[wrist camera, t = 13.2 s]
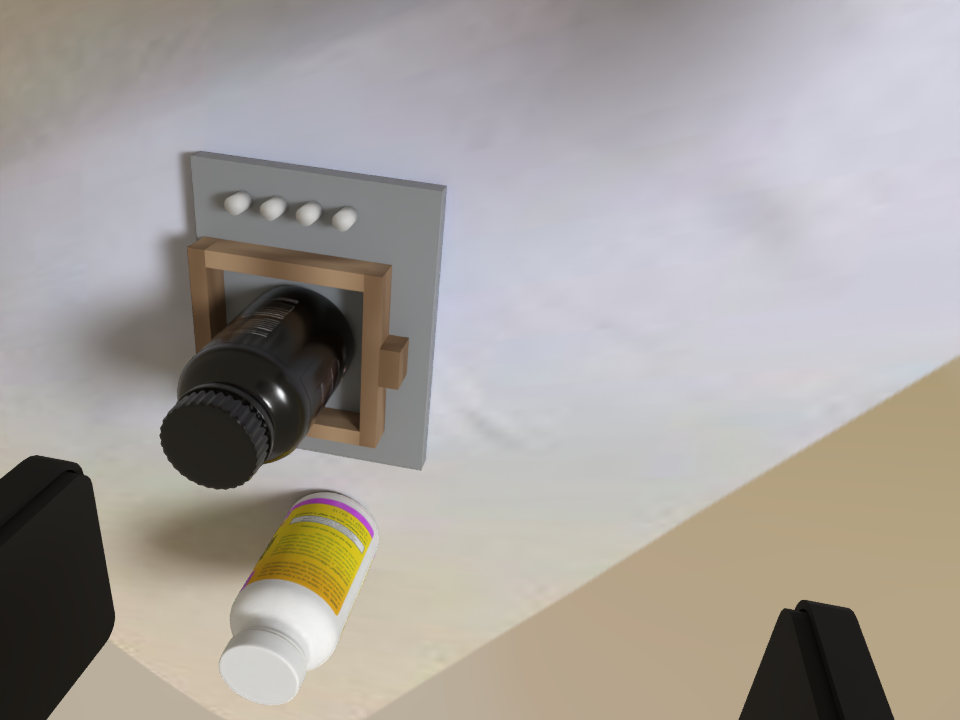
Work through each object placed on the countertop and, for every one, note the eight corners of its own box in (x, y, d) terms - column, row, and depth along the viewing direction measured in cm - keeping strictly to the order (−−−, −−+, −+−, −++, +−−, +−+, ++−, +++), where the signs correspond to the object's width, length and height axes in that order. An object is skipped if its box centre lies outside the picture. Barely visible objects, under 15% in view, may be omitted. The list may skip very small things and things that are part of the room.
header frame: (413, 268, 42) (404, 281, 40) (403, 434, 47) (394, 452, 45) (204, 236, 43) (187, 247, 41) (217, 401, 48) (201, 417, 46)
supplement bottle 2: (288, 480, 52) (195, 621, 40) (382, 496, 51) (314, 644, 40) (292, 555, 55) (206, 705, 43) (380, 571, 54) (317, 728, 43)
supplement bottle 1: (235, 355, 46) (121, 467, 36) (266, 262, 43) (152, 354, 32) (336, 404, 47) (253, 529, 36) (375, 316, 43) (297, 425, 33)
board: (446, 185, 41) (436, 198, 38) (425, 460, 49) (415, 483, 47) (201, 151, 42) (176, 161, 40) (220, 423, 50) (201, 444, 48)
